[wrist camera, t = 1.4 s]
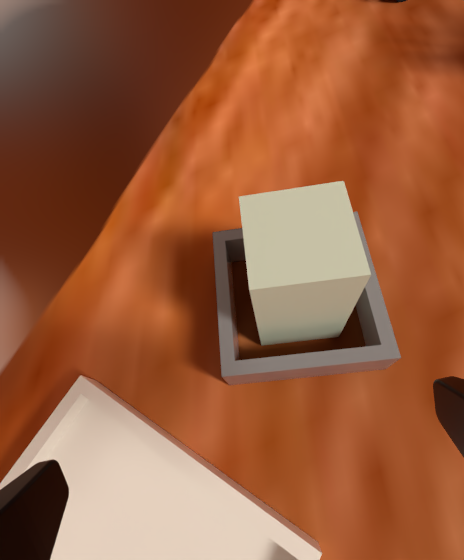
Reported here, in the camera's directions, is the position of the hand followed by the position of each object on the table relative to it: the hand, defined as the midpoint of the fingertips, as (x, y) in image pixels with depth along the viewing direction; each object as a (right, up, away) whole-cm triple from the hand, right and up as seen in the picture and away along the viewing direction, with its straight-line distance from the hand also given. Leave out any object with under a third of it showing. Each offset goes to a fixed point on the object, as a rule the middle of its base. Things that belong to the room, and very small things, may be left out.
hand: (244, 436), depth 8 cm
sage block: (+4, +2, +15) cm, 16 cm away
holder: (+4, +2, +15) cm, 16 cm away
